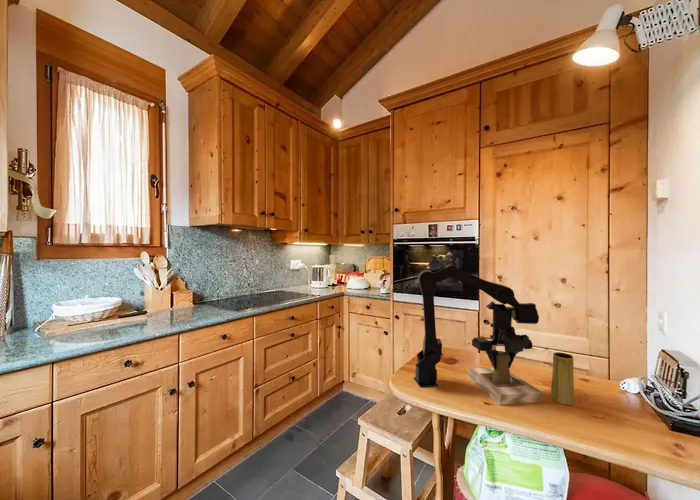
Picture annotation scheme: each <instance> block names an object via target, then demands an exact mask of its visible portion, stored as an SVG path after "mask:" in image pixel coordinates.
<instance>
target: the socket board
mask: <svg viewBox="0 0 700 500" xmlns="http://www.w3.org/2000/svg"><path fill="white" fill-rule="evenodd" d="M493 370H494V368H493V366H492V367H491V366H490V367H478V368H467V378H468V379H469V380H470V381H471V382H473V383H474V384H475V385H476V386H477V387H478V388H480V389H481V390H482V391H483V392H485V394H487V395H488V396H489V397H490V398H491V399H493V400H494V401H495V402H496V403H497V404H499V405H501V406H504V405H505V406H506V405H515V404H529V403H539V402H540V403H541V402H543V399H542V398H543V392H542V391H541V390H539V389H538V388H537V387H535V386H533V385H532V384H530V383H528V382H527V381H526V380H524V379H522V378H521V377H519V376H518V375H516V374H514V373H513V372H512V371H510V370H509V372H510V379H511V384H505V385H497V384H496V383H495V382H493V381H492V377H493Z"/></svg>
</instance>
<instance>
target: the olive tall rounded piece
mask: <svg viewBox="0 0 700 500" xmlns="http://www.w3.org/2000/svg"><path fill="white" fill-rule="evenodd" d="M498 351H499V352H498V354H497V365H496V369H494V370H493V377H492V381H493V382H495V383H496V384H497V385H505V384H511V379H510V372H511V371H510V368H509V364H508V363H509V362H510V355H509V354H508V353H506V352H505V350H504V351H503V350H498ZM509 371H510V372H509Z"/></svg>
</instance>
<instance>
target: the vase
mask: <svg viewBox="0 0 700 500" xmlns="http://www.w3.org/2000/svg"><path fill="white" fill-rule="evenodd" d="M551 375H552V376H551V388H550V391H551V393H550V399H551V400H552V401H554V402H555V403H558V404H560V405H564V406H573V405H575V402H576V401H575V389H574V388H575V387H574V386H575V384H574V383H575V382H574V381H575V380H574V356H573V355H571V354H570V353H565V352H559V351H558V352H553V353H552V373H551Z"/></svg>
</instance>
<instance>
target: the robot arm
mask: <svg viewBox="0 0 700 500" xmlns="http://www.w3.org/2000/svg"><path fill="white" fill-rule="evenodd" d="M417 277H418V283H419V288H420V292H421V296H422V308H423V309H422V310H423V323H424V326H423V327H424V337H423V340H422V341H423V342H422V350H420V351H419V352H418V353H416V359H417V360H416V361H417V363H415V376H414V377H413V380H414V381H415V382H416V384H417V385H418V386H419V387H420V388H424V387H427V388H428V387H437V386H438V385H439V384H438V370H437V369H436V368H437V367H436V365H437V364H439V363H440V362H441V359H442V357H444V355H443V352H442V350H443V343H442V341H441V338H438V337H437V332H436V331H437V329H436V328H437V327H436V315H435V314H436V313H435V300H434V298H435V294H436V293H435V292H436V290H437V289H436V286H437V284H438V283H441V282H443V281H445V280H448V279H449V278H453V279H456V280H457V281H460V282H462V283H465V284H466V285H469V286H471V287H474V288H475V289H477V290H480V291H482V292H483V293H485V294H486V295H488V296H489V297H491V298H492V299H494V300H495V301H497V302H498V303H496V302H494V301H490V302H489V303H488V304H487V305H486V308H487V309H488V310H492V322H491V323H490V328H492V334H490V335H489V338H490V340H489V339H487V338H485V337H484V336H483V337H482V336H480V337H473V338H472V340H471V346H473V348H476V349H477V350H478V351H480V352H485V353H486V355H487V357H488V358H489V359H488V360H489V361H490V364H491V366H492V367H493V368H494V369H496V365H497V354H498V352H499V351H500V350H497V347H504V352H506V353H508V354H509V355H510V362H509V363H508V364H509V369H510V368H511V367H512V365H513V361H514V360H515V358H516V356H517V354H519V353H523V351H524V350H531V349H533V342H532V340H531V339H530V337H529V336H528V335H527V334H516V330H515V327H514V326H513V325H512V323H513V321H515V322H516V324H527V325H537V324H538V323H539V321H540V320H539V319H540V316H539V313H538V309H537V308H536V307H537V305H536V303H533V302H528V303H527V302H526V303H523V302H521V303H520V302H519V301H518V300H517V299H516V296H515V292H514V290H513V289H512V288H511V287H509V286H507V285H504V284H501V283H496V282H492V281H489V280H485V279H483V278H481V277H478V276H476V275H473V274H472V273H469V272H467V271H464V270H462V269H460V268H458V267H456V266H455V265H453V264H447V265H444V266H442V267H441V266H440V267H438V268H434V269H432V270H429V269H424V270H422V271H420V272H419V274H418V276H417ZM506 305H509V306H506ZM512 320H513V321H512Z"/></svg>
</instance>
